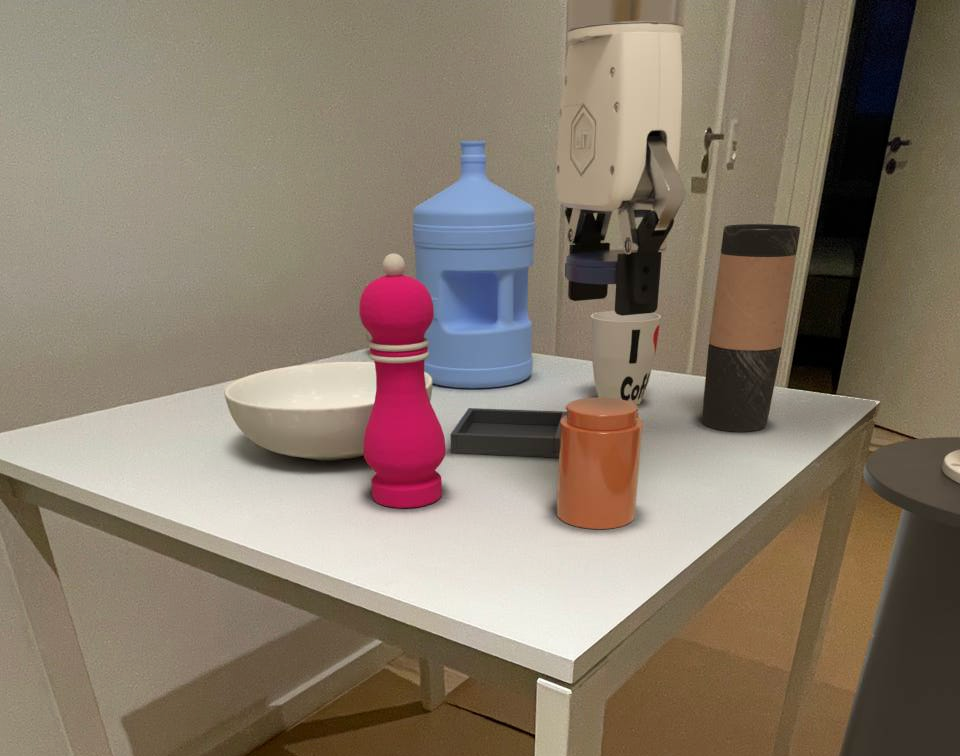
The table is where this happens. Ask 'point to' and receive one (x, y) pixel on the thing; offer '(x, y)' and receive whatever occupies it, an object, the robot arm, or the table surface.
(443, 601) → the table surface
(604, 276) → the jar lid
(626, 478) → the jar
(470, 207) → the water jug
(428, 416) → the pepper mill
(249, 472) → the table surface
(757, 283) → the travel mug
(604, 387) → the cup
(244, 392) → the serving bowl
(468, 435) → the tray
